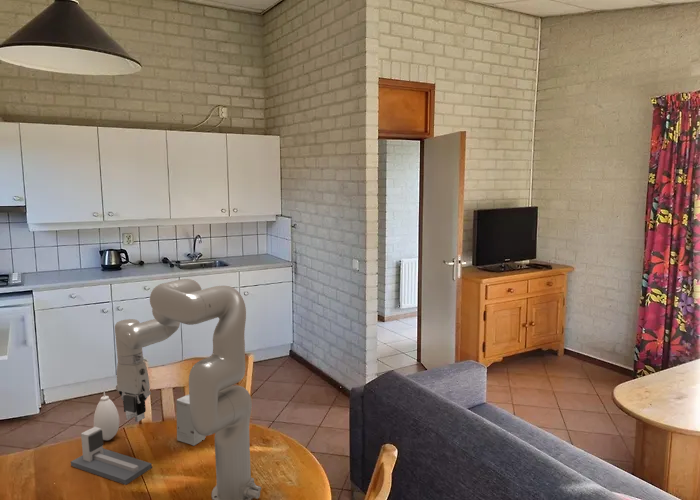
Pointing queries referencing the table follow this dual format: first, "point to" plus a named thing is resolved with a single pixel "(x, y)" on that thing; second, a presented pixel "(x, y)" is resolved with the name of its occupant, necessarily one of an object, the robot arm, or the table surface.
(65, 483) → the table surface
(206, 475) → the table surface
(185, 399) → the skincare box
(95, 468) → the rail base
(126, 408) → the left finger
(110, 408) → the sauce bottle
